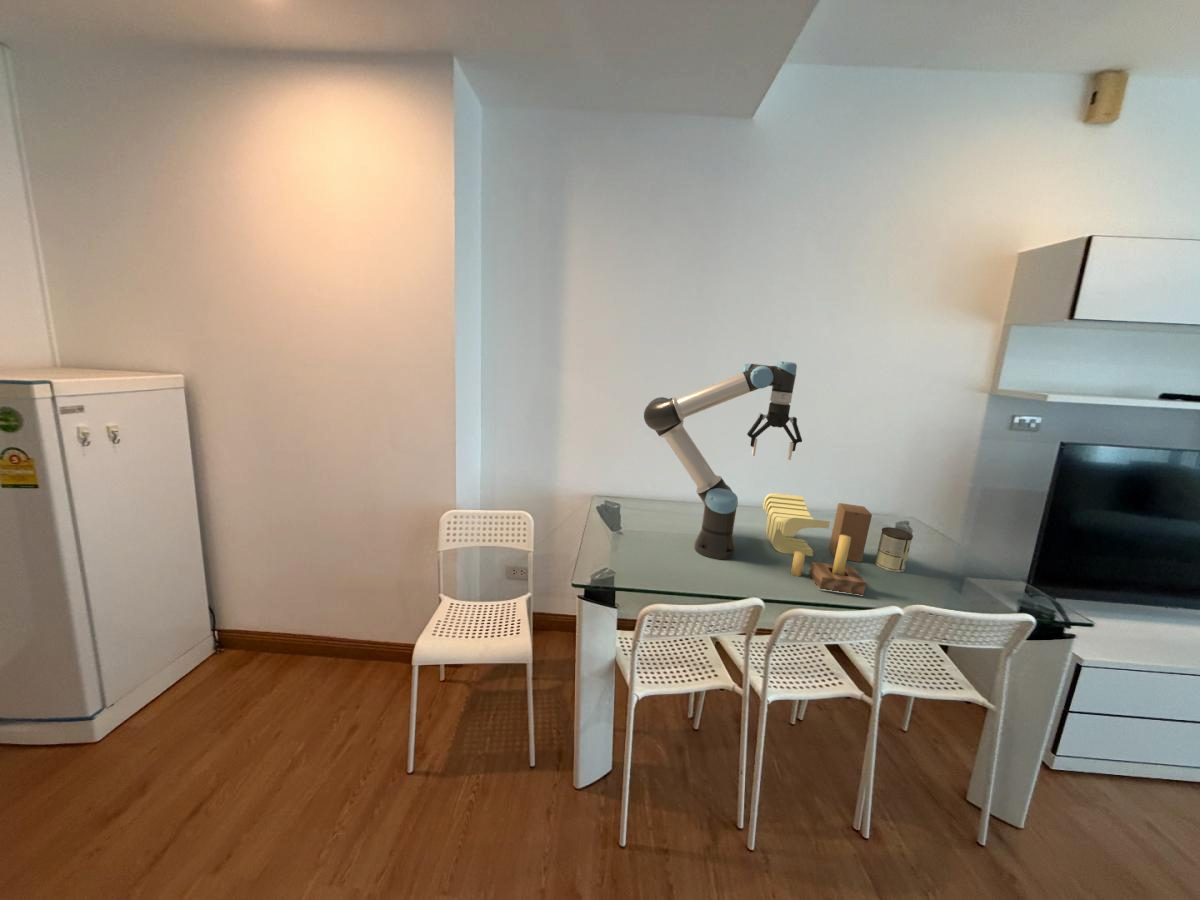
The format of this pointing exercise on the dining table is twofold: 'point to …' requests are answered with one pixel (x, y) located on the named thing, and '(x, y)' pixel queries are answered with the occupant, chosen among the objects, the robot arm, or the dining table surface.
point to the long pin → (841, 555)
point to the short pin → (797, 563)
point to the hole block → (837, 579)
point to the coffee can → (893, 549)
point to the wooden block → (851, 529)
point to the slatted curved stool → (789, 522)
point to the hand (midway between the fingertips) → (770, 457)
